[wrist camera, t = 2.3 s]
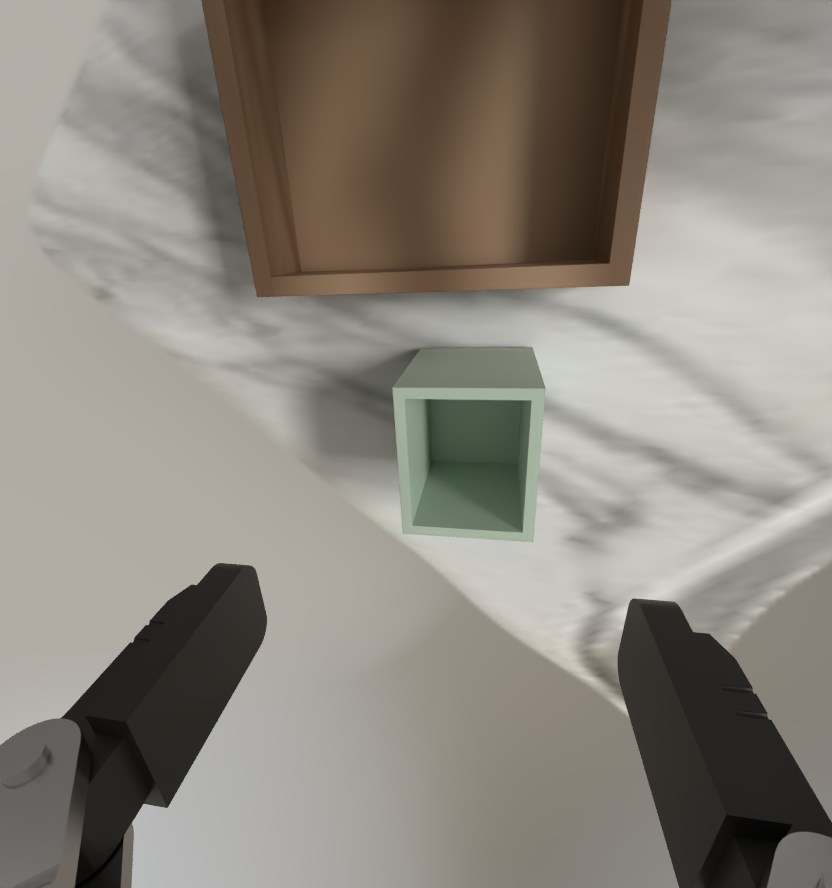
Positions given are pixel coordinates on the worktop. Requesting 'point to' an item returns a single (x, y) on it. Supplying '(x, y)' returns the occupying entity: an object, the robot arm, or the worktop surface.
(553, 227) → the big crate
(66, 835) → the robot arm
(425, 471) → the small crate
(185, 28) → the worktop surface
